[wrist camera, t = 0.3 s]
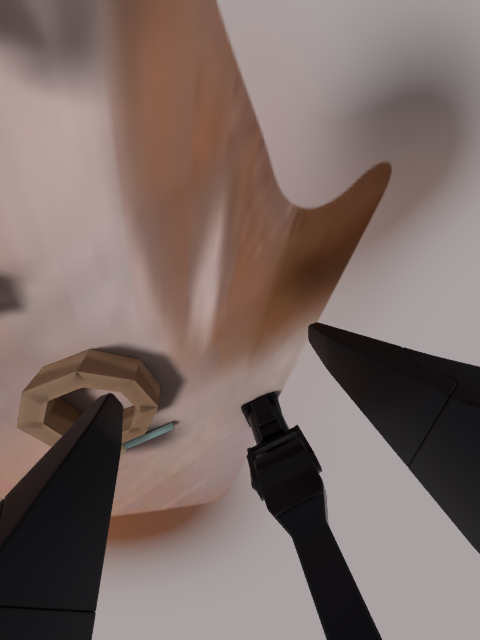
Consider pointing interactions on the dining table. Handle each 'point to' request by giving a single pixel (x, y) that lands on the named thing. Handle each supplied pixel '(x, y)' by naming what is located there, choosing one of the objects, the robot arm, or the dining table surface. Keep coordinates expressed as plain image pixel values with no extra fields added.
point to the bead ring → (89, 372)
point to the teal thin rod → (146, 437)
